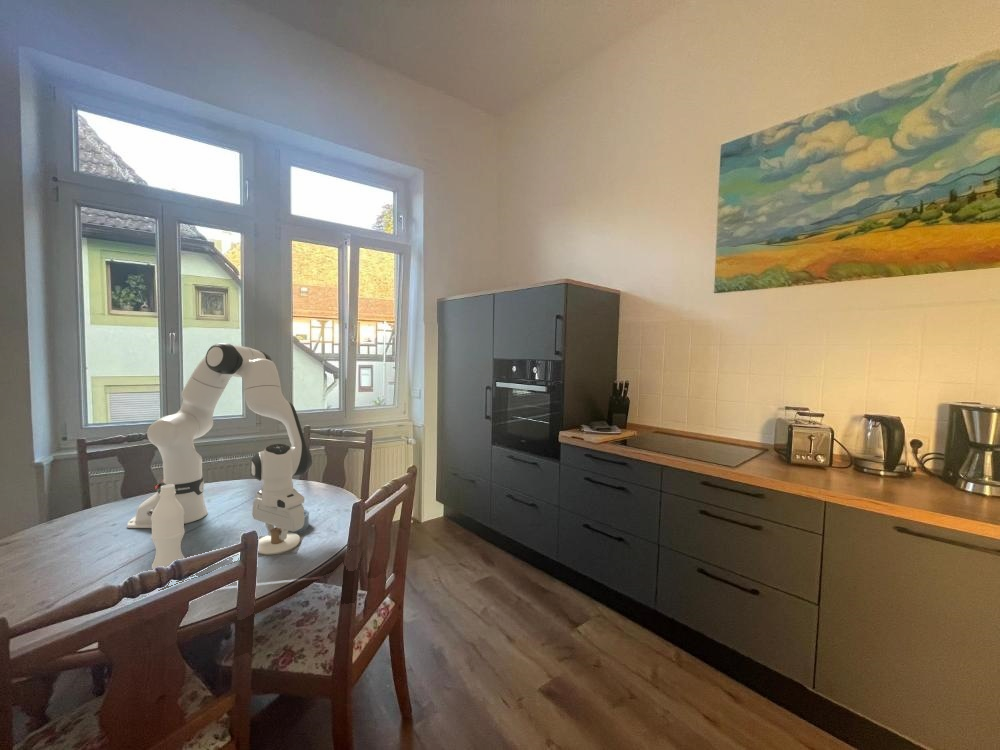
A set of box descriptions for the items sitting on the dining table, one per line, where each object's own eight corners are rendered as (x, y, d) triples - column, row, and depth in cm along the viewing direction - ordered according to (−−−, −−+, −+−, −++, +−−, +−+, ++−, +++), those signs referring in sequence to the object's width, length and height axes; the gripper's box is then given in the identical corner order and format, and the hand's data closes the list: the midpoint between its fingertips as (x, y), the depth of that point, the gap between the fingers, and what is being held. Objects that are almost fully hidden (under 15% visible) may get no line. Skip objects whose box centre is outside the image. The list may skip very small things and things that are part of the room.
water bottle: (183, 563, 118) (182, 479, 116) (186, 573, 113) (185, 486, 111) (150, 571, 113) (149, 485, 111) (152, 583, 108) (151, 492, 106)
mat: (245, 559, 121) (245, 557, 121) (259, 538, 134) (259, 536, 134) (296, 555, 125) (296, 553, 125) (305, 534, 138) (305, 532, 138)
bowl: (273, 536, 136) (273, 522, 136) (280, 523, 146) (280, 510, 145) (305, 533, 139) (305, 519, 138) (310, 521, 148) (310, 508, 148)
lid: (247, 556, 122) (247, 540, 121) (260, 536, 134) (260, 522, 134) (295, 552, 125) (295, 536, 125) (303, 533, 138) (303, 519, 137)
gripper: (246, 492, 130) (246, 534, 131) (290, 505, 122) (290, 549, 122) (265, 487, 136) (265, 526, 136) (308, 498, 127) (307, 540, 128)
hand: (277, 537), depth 129 cm, fingers closed on lid, 4 cm apart
